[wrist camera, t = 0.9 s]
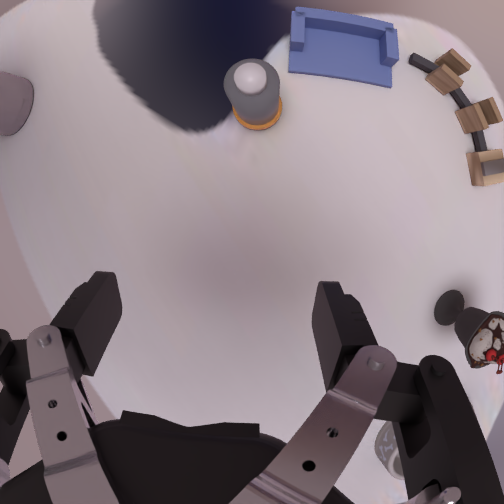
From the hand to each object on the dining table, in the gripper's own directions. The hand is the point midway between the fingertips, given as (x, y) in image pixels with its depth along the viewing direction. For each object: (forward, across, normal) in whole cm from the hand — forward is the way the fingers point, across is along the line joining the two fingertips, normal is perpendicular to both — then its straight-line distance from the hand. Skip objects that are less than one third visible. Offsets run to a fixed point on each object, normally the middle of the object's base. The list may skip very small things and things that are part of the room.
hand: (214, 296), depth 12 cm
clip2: (+24, +28, +10) cm, 38 cm away
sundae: (+17, +28, -14) cm, 35 cm away
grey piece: (+25, +2, +6) cm, 26 cm away
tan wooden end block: (+22, +30, +4) cm, 37 cm away
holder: (+26, +11, +14) cm, 32 cm away
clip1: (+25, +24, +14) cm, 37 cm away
